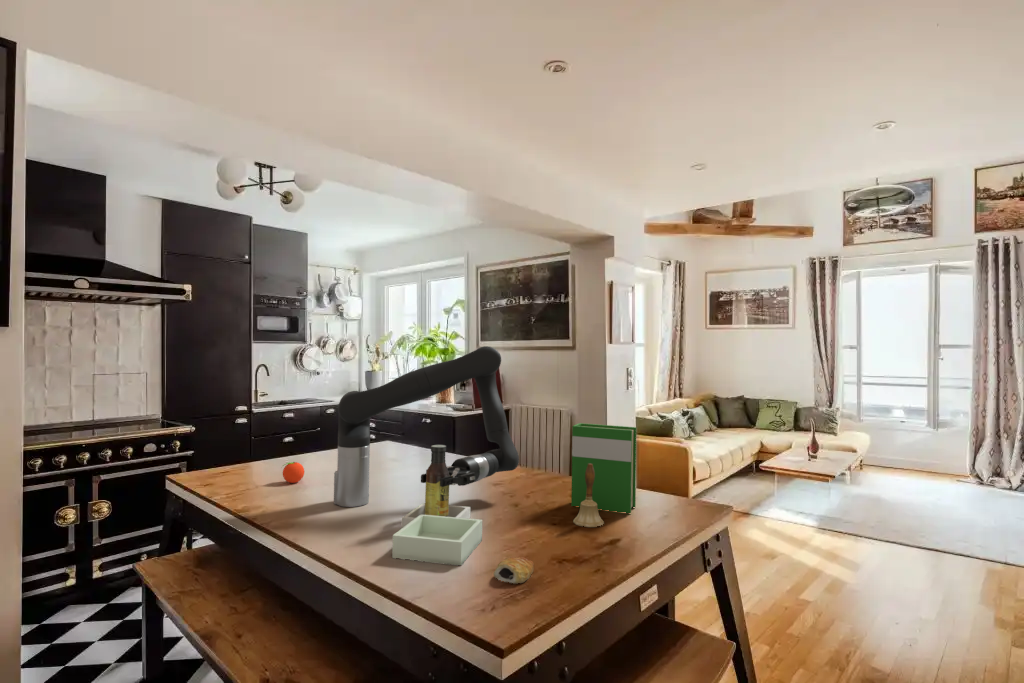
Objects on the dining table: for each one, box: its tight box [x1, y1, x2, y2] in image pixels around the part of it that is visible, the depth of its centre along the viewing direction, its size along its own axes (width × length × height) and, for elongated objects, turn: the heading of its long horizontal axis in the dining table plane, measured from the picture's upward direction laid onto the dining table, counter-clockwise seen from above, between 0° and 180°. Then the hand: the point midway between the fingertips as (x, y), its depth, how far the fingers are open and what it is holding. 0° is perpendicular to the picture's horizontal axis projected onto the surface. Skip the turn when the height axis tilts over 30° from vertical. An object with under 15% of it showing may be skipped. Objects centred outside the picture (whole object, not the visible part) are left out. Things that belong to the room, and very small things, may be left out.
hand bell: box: [572, 463, 605, 528], centre depth 147 cm, size 8×8×16 cm
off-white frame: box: [401, 502, 471, 529], centre depth 144 cm, size 14×14×3 cm
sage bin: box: [391, 514, 483, 566], centre depth 126 cm, size 16×16×5 cm
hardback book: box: [570, 422, 637, 514], centre depth 162 cm, size 18×7×24 cm, turn 66°
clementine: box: [282, 461, 305, 484], centre depth 184 cm, size 8×7×7 cm
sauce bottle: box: [424, 444, 450, 517], centre depth 144 cm, size 7×6×20 cm
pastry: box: [493, 556, 535, 585], centre depth 112 cm, size 9×7×4 cm
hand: (431, 480), depth 142 cm, fingers closed on sauce bottle, 6 cm apart
